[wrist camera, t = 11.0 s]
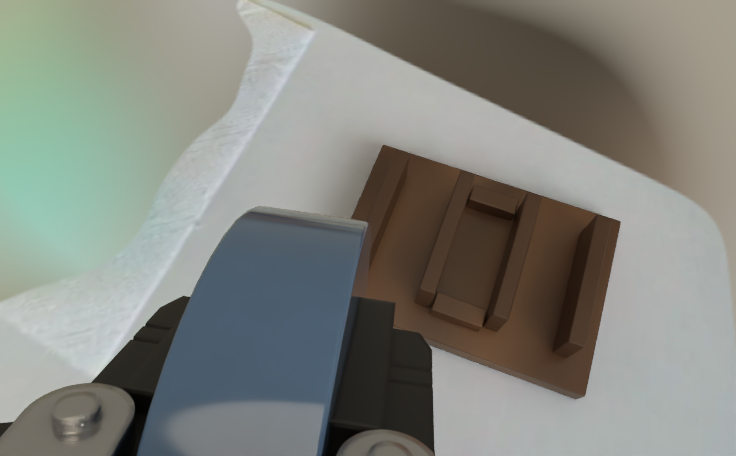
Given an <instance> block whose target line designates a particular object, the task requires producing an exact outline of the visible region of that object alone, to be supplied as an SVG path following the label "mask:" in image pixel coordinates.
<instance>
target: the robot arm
mask: <svg viewBox="0 0 736 456" xmlns="http://www.w3.org/2000/svg"><path fill="white" fill-rule="evenodd" d="M190 298H191V297H186V296H182V297H180V298H178V299H176V300H174V301H172V302H170V303H168V304H166V305H164V306H162V307H160V308H159V309H158V311H157V312H156V313H155V314H154V315H153V316H152V317H151V318H150V319H149V320H148V321H147V323H146V326H145V327H144V326H143V327H142V328H141V329H140V330H139V331H138V332H137V333H136V335H135V336H134V338H133V340H130V341H129V342H128V343H127V344H126V345H125V347H124V348H123V349H122V350H121V351H120V352H119V353H118V354H117V355H116V356H115V357H114V359H113V360H112V361H111V362H110V363H109V364H108V365H107V366H106V367H105V368H104V369H103V370H102V372H101V373H100V374H99V375H98V376H97V377H96V378H95V379H94V380H93V381H92V382H91V383H84V384H77V385H71V386H67V387H63V388H60V389H58V390H55V391H52V392H50V393H48V394H46V395H44V396H42V397H40V398H39V399H37V400H36V401H34V402H33V403H32V404H30V405H29V406H28V407H27V408H26V409H25V410H24V411H23V412H22V413H21V414H20V415H19V417H18V418H17V419H16V420H15V421H14V422H9V423H0V456H136V454H137V451H138V447H139V444H140V440H141V436H142V433H143V429H144V426H145V422H146V418H147V415H148V411H149V408H150V405H151V402H152V399H153V396H154V393H155V390H156V387H157V384H158V381H159V377H160V374H161V371H162V368H163V365H164V362H165V360H166V357H167V354H168V352H169V349H170V346H171V344H172V341H173V339H174V336H175V333H176V331H177V328H178V325H179V323H180V320H181V318H182V316H183V313H184V311H185V309H186V307H187V304H188V302H189V300H190ZM395 304H396V302H389V301H383V300H376V299H370V298H363V297H360V299H359V304H358V308H357V312H356V317H355V321H354V325H353V330H352V334H351V338H350V343H349V347H348V352H347V356H346V360H345V365H344V369H343V373H342V378H341V382H340V386H339V391H338V395H337V399H336V404H335V408H334V413H333V417H332V421H331V429H330V438H329V446H328V454H327V456H435V451H434V424H433V388H432V350H431V348H430V347H429V345H428V344H427V342H426V341H425V339H424V338H423V336H422V335H421V333H420V332H413V331H407V330H400V329H394V328H393V325H394V314H395Z"/></svg>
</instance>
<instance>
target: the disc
mask: <svg viewBox="0 0 736 456" xmlns="http://www.w3.org/2000/svg"><path fill="white" fill-rule="evenodd" d="M370 250H371V226H370V223H369V222H368V221H362V220H355V219H349V218H342V217H335V216H328V215H321V214H314V213H307V212H301V211H294V210H287V209H280V208H273V207H266V206H258V207H255V208H252V209H250V210H248V211H246V212H245V213H244V214H243V215H242V216H240V217H239V218H238V219H237V220H236V221H235V222H234V224H233V225H232V226H231V227H230V229H229V230H228V231H227V232H226V233H225V235H224V236H223V238H222V239H221V241H220V243H219V244H218V246H217V247H216V249H215V251H214V252H213V254H212V255H211V257H210V259H209V261H208V263H207V265H206V267H205V269H204V271H203V272H202V274H201V276H200V278H199V280H198V282H197V284H196V286H195V288H194V291H193V293H192V295H191V298H190V300H189V302H188V304H187V307H186V309H185V311H184V313H183V316H182V318H181V320H180V323H179V325H178V328H177V331H176V333H175V336H174V339H173V341H172V344H171V346H170V349H169V352H168V354H167V357H166V360H165V362H164V365H163V368H162V371H161V374H160V377H159V381H158V384H157V387H156V390H155V393H154V396H153V399H152V402H151V405H150V408H149V411H148V415H147V418H146V422H145V426H144V429H143V433H142V436H141V440H140V444H139V447H138V451H137V454H136V456H327V454H328V446H329V438H330V429H331V421H332V417H333V413H334V408H335V404H336V399H337V395H338V391H339V386H340V382H341V378H342V373H343V369H344V365H345V360H346V356H347V352H348V347H349V343H350V338H351V334H352V330H353V325H354V321H355V317H356V312H357V308H358V304H359V299H360V297H363V298H366V290H367V281H368V272H369V262H370Z"/></svg>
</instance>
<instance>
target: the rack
mask: <svg viewBox="0 0 736 456" xmlns="http://www.w3.org/2000/svg"><path fill="white" fill-rule="evenodd" d="M351 219H355V220H362V221H368V222H369V223H370V226H371V250H370V262H369V272H368V281H367V290H366V298H370V299H376V300H383V301H389V302H396V304H395V314H394V325H393V328H394V329H400V330H407V331H413V332H420V333H421V335H422V336H423V338H424V339H425V341H426V342H427V344H428V345H431V346H434V347H436V348H439V349H442V350H445V351H447V352H450V353H453V354H455V355H458V356H461V357H463V358H466V359H469V360H471V361H474V362H477V363H480V364H482V365H485V366H488V367H490V368H493V369H496V370H498V371H501V372H504V373H507V374H509V375H512V376H515V377H517V378H520V379H523V380H525V381H528V382H531V383H533V384H536V385H539V386H542V387H544V388H547V389H550V390H552V391H555V392H558V393H560V394H563V395H566V396H569V397H571V398H574V399H579V398H581V397H584V396H585V394H586V389H587V384H588V379H589V374H590V370H591V365H592V360H593V355H594V350H595V345H596V340H597V335H598V330H599V326H600V321H601V316H602V311H603V306H604V301H605V296H606V291H607V287H608V282H609V277H610V272H611V267H612V262H613V257H614V252H615V248H616V243H617V238H618V233H619V228H620V223H621V222H620V221H618V220H615V219H612V218H608V217H605V216H602V215H599V214H596V213H593V212H590V211H587V210H584V209H581V208H578V207H574V206H571V205H568V204H565V203H562V202H559V201H556V200H553V199H550V198H547V197H544V196H540V195H537V194H534V193H531V192H528V191H525V190H522V189H519V188H516V187H513V186H510V185H506V184H503V183H500V182H497V181H494V180H491V179H488V178H485V177H482V176H479V175H475V174H473V173H470V172H467V171H463V170H460V169H457V168H454V167H451V166H448V165H445V164H441V163H438V162H435V161H432V160H429V159H426V158H423V157H420V156H417V155H414V154H411V153H407V152H404V151H401V150H398V149H395V148H392V147H389V146H386V145H383V146H382V148H381V151H380V153H379V155H378V158H377V160H376V162H375V165H374V167H373V169H372V171H371V174H370V176H369V178H368V181H367V183H366V185H365V188H364V190H363V192H362V195H361V197H360V199H359V202H358V204H357V206H356V209H355V211H354V213H353V216H352V218H351Z"/></svg>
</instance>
